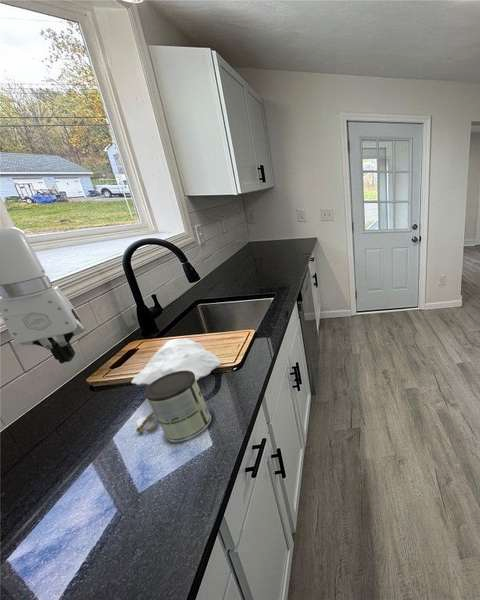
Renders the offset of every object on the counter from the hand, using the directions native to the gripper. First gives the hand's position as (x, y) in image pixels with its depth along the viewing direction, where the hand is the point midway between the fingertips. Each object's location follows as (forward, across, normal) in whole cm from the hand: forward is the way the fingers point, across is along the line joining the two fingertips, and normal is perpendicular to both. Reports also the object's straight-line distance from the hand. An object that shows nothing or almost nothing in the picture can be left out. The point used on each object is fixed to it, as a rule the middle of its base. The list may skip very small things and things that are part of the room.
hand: (67, 359), depth 74 cm
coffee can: (+22, +19, -11) cm, 31 cm away
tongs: (+22, +11, -1) cm, 25 cm away
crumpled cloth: (+22, +15, +18) cm, 32 cm away
